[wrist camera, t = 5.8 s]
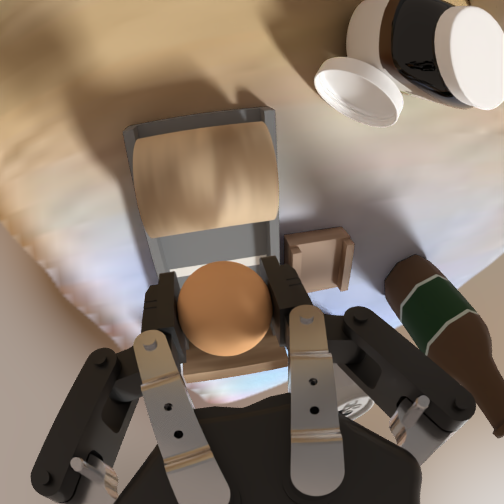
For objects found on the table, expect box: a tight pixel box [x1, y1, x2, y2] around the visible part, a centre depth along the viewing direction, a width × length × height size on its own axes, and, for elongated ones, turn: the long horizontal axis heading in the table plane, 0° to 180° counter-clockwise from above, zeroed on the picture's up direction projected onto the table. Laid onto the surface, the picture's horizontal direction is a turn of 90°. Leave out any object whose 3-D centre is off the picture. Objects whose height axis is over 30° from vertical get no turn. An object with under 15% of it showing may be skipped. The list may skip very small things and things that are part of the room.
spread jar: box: [314, 0, 504, 127], centre depth 17 cm, size 12×11×12 cm
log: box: [133, 121, 279, 238], centre depth 21 cm, size 7×8×7 cm
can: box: [333, 363, 375, 420], centre depth 34 cm, size 8×8×12 cm
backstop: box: [183, 326, 288, 383], centre depth 33 cm, size 2×11×6 cm, turn 94°
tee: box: [284, 227, 355, 293], centre depth 30 cm, size 6×6×3 cm
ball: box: [177, 261, 273, 356], centre depth 13 cm, size 4×4×4 cm
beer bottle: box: [385, 255, 504, 438], centre depth 26 cm, size 8×8×24 cm
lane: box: [123, 107, 280, 350], centre depth 27 cm, size 23×11×2 cm, turn 4°
